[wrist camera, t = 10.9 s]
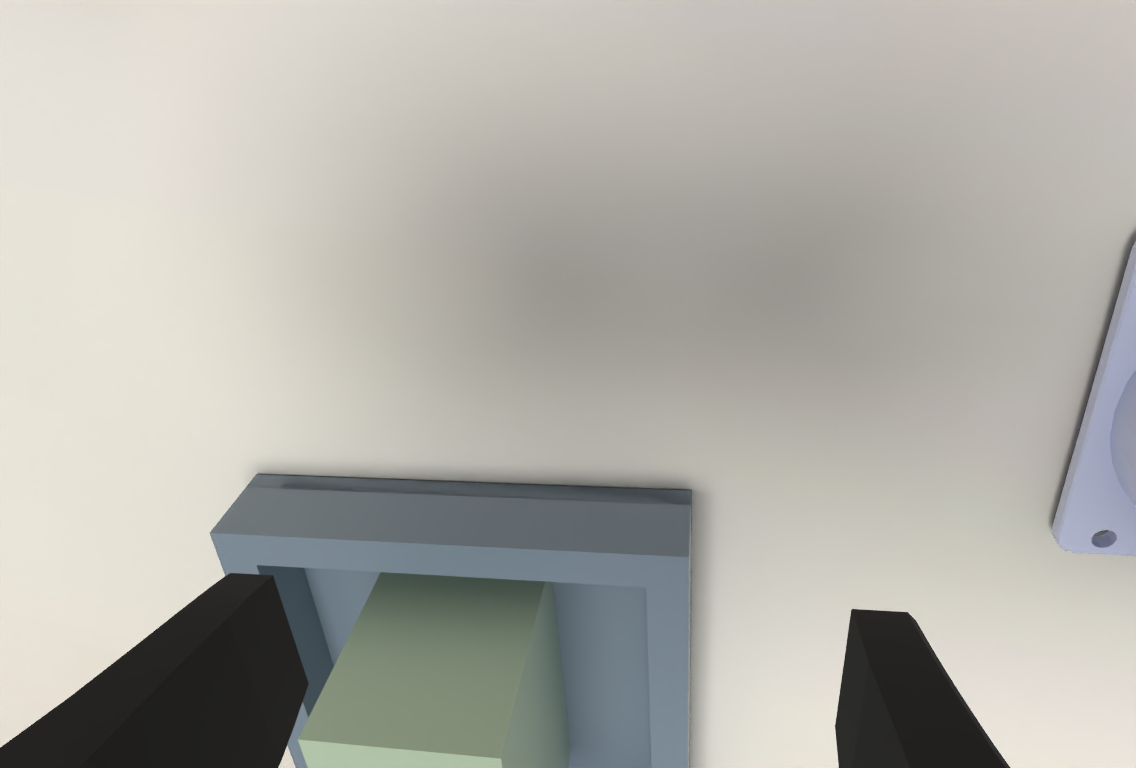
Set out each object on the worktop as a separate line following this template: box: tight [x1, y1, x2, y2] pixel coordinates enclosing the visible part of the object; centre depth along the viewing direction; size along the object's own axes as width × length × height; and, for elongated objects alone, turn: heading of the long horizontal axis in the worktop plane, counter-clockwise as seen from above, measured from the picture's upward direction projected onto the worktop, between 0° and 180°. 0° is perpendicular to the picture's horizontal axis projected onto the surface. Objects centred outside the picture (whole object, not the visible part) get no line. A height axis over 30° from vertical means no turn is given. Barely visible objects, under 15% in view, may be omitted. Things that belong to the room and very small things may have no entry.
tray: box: [210, 474, 692, 768], centre depth 24 cm, size 12×13×2 cm
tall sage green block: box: [298, 572, 570, 768], centre depth 22 cm, size 4×8×6 cm, turn 4°
